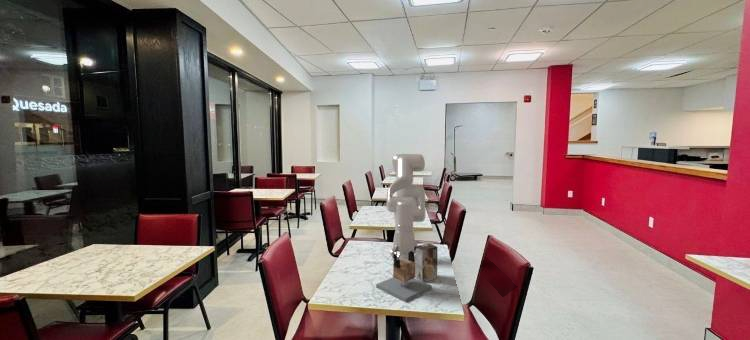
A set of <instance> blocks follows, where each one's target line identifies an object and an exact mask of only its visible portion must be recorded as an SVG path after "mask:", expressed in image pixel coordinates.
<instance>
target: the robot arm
mask: <svg viewBox="0 0 750 340" xmlns="http://www.w3.org/2000/svg"><path fill="white" fill-rule="evenodd" d="M391 160H392V161H391V163H392V167H393V168H392V169H393V170H394V174H395V175H396V176H395V177H396V178H395V179H396V180H394V181H393V182H392V183H391V184H390V185H389V187H388V189H387V191H386V201H385V203H386V210H387V211H388V212H389V213H393V216H394V224H395V225H394V227H395V228H394V229H395V231H394V236H393V243H392V248H391V249H390V252H389V253H390V255H391V258H392V260H393V262H394V267H396V268H400V260H401V259H407V260H409V261H412V262H414V263H415V250H416V248H417V246H418V244H419V242H417V241H415V231H414V223H422V222H424V221H425V220H426V191H425V188H424V186H422V185H413V183H414V173H415V172H419V173H420V172H423V171H424V170H425V166H426V161H425V157H424V156H423V155H422V154H419V153H418V154H417V153H397V154H394V155H393V156H392V159H391ZM395 193H396V196H393V195H394V194H395Z"/></svg>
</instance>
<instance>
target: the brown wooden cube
mask: <svg viewBox="0 0 750 340" xmlns="http://www.w3.org/2000/svg"><path fill="white" fill-rule="evenodd" d="M392 265H393V266H392V267H393V269H392V270H393V271H392V273H393V274H392V275H393V276H392V278H393V277H394V278H396V279H398V280H401V281H403V282H406V281H409V280H411V279H414V278H415V261H414V262H412V261H409V260H407V259H401V260H400V268H396V267H394V261H393V263H392ZM415 279H416V278H415Z"/></svg>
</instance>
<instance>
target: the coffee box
mask: <svg viewBox="0 0 750 340" xmlns="http://www.w3.org/2000/svg"><path fill="white" fill-rule="evenodd" d="M414 258H415V260H414V263H415V279H418V280H420V281H422V282H425V283H426V282H428V281H433V280H437V279H438V246H437V245H434V244H432V243H425V244H419V245H418V244H417V248H416V250H415V254H414Z"/></svg>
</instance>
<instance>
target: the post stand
mask: <svg viewBox="0 0 750 340" xmlns="http://www.w3.org/2000/svg"><path fill="white" fill-rule="evenodd" d="M375 288H377V289H378V290H380V291H382V292H384V293H386V294H388V295H390V296H392V297H394V298H397V299H398V300H400V301H402V302H404V303H406V302H409V301H411V300H412V299H414V298H417V297H419V296H420V295H421V296H422V295H423V294H425V293H427V292H428V291H431V290H432V289H433V285H432V284H430V283H427V282H426V281H425V282H422V281H420V280H418V279H417V278H414V279H411V280H409V281H406V282H403V281H401V280H398V279H396V278H394V277H393V276H392V277H390V278H389V279H388V278H387V279H385V280H383V281H380V282H378V283H376V284H375Z"/></svg>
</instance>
